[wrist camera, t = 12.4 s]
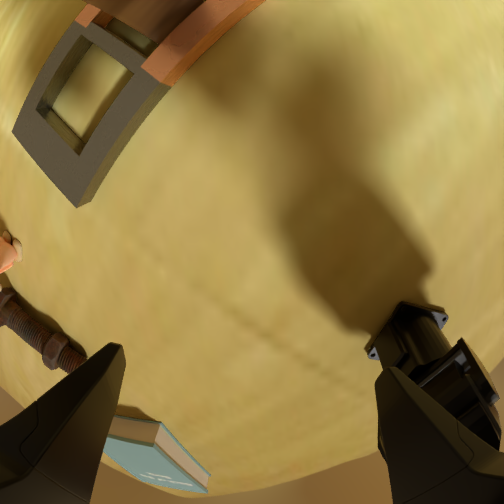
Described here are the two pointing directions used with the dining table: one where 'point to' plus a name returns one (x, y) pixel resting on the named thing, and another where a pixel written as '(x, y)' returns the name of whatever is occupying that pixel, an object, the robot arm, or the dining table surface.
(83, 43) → the grey-tan flat frame piece
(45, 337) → the bolt
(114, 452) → the book
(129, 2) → the walnut post
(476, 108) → the dining table surface
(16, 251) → the grandmother figurine
